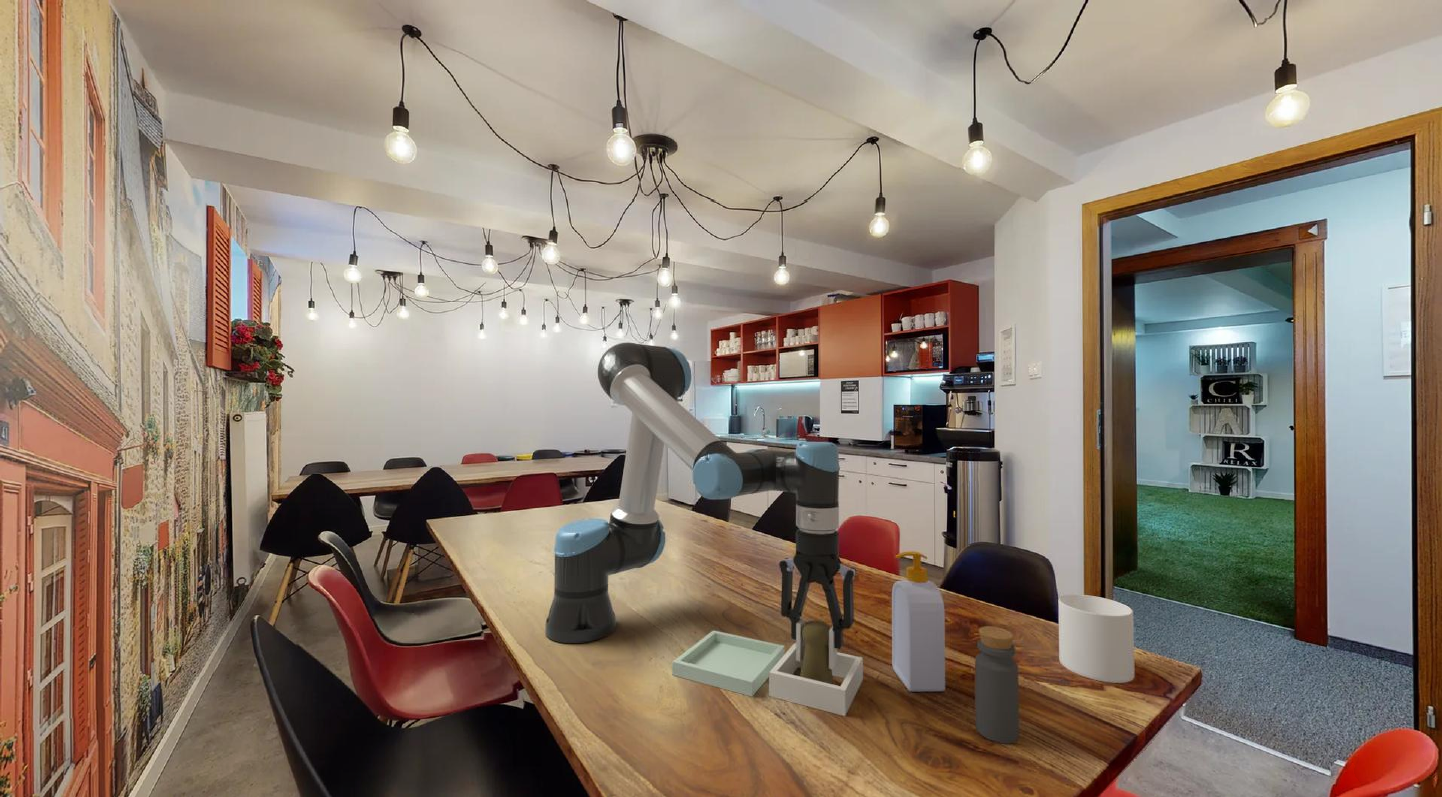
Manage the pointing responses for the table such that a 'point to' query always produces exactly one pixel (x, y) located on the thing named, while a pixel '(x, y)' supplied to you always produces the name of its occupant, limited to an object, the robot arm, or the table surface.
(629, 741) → the table surface
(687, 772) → the table surface
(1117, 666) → the cup
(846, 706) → the frame
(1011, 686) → the bottle
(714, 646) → the tray
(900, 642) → the soap bottle
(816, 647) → the cork
